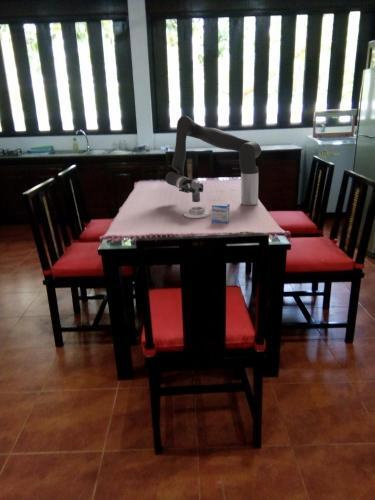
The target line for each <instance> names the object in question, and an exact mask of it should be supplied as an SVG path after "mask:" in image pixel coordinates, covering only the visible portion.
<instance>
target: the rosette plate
mask: <svg viewBox="0 0 375 500" xmlns="http://www.w3.org/2000/svg"><path fill="white" fill-rule="evenodd" d="M183 216H184V217H185V218H187V217H188V219H195V218H196V219H203V218H207V217H210V216H212V211H210V210H207V209H206V208H205V207H204V206H192V207H189V210H187V211H185V212H184V213H183Z"/></svg>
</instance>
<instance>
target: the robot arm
mask: <svg viewBox="0 0 375 500" xmlns="http://www.w3.org/2000/svg"><path fill="white" fill-rule="evenodd" d="M175 137H176V138H175V146H174V152H173V156H172V162H171V167H172V169H174V170H175V171H176V172H174V171H170V172H167V173H166V175H165V182H166V184H168V185H170V186H174V187H176V188H177V189H178V191H179V192H183V193H186V194H192V193H195V191H194V189H193V188H192V181H194V180H193V179H191V178H189V177H186V176H185V173H184V172H185V169H184V168H185V162H186V159H187V145H186V144H187V137H189V138H190V137H191V138H194V139H198V140H201V141H202V142H205V143H206V144H209V145H211V146H213V147H215V148H218V149H223V150H228V151H235V152H238V158H239V161H238V162H239V168H240V179H241V180H240V194H241V195H240V201H241V202H240V204H241V205H243V206H256V205H258V204H259V167H258V166H257V165H256V159H257V158H259V156H260V155H261V153H262V148H261V146H260V144H259V143H258V142H256V141H253V140H248V139H244V138H241V137H238V136H236V135H234V134H232V133H230V132H226V131H224V130H221V129H219V128H215V127H205V126H202V125H200V124H198V123H197V122H195V121H194V120H193V119H192V118H191V117H189V116H187V115H182V116H181V117H180V118H179V119H178V120H177V123H176V135H175ZM203 192H204V183H202V182H201V183H200V193H203Z"/></svg>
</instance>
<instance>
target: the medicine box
mask: <svg viewBox="0 0 375 500" xmlns="http://www.w3.org/2000/svg"><path fill="white" fill-rule="evenodd" d="M230 206H231V205H230V203H213V204H211V223H214V224H228V223H229V222H230V221H231V218H230V217H231V214H230V213H231V210H230V209H231V208H230Z"/></svg>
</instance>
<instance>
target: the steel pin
mask: <svg viewBox="0 0 375 500" xmlns="http://www.w3.org/2000/svg"><path fill="white" fill-rule="evenodd" d="M192 188H193V189H194V191H195V193H191V197H192V198H191V199H192V203H200V202H201V192H200V181H198V180H193V181H192Z"/></svg>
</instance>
